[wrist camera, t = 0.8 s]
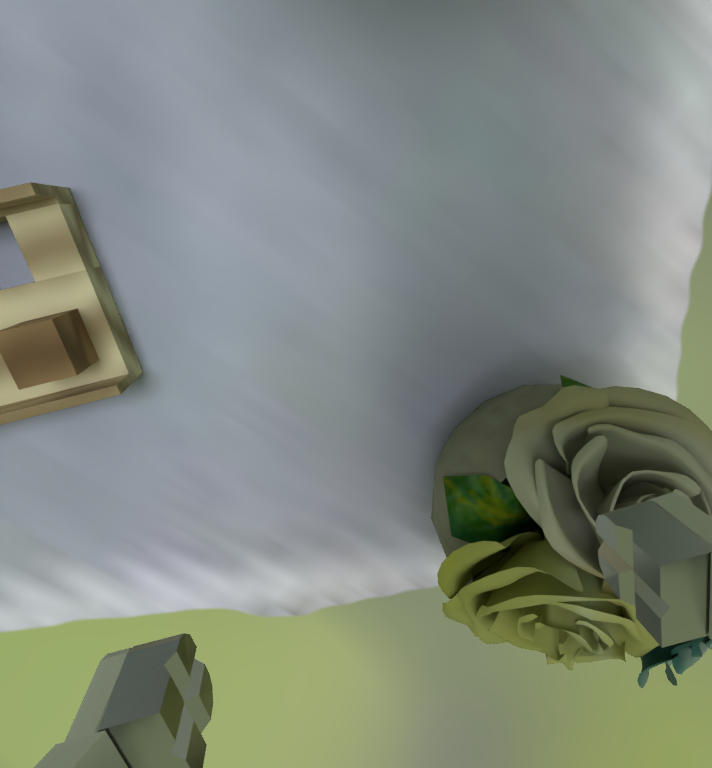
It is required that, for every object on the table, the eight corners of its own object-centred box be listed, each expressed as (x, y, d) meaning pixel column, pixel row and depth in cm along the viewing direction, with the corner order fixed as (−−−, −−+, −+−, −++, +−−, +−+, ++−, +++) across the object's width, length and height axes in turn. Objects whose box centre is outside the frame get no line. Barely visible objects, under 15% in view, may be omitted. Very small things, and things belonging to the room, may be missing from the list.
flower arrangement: (560, 289, 46) (820, 356, 23) (646, 474, 55) (900, 658, 32) (344, 426, 48) (390, 614, 25) (459, 585, 57) (572, 835, 34)
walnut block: (23, 321, 39) (-10, 333, 35) (77, 308, 39) (51, 319, 35) (47, 372, 40) (18, 389, 36) (99, 359, 40) (77, 375, 36)
